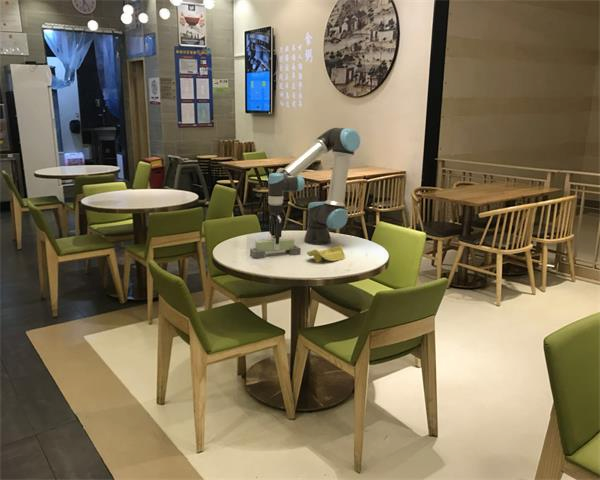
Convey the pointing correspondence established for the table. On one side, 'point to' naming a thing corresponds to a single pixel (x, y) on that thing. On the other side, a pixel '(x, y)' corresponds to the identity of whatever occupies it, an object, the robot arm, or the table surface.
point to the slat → (269, 245)
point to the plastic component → (328, 254)
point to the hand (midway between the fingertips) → (275, 248)
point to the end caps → (261, 254)
